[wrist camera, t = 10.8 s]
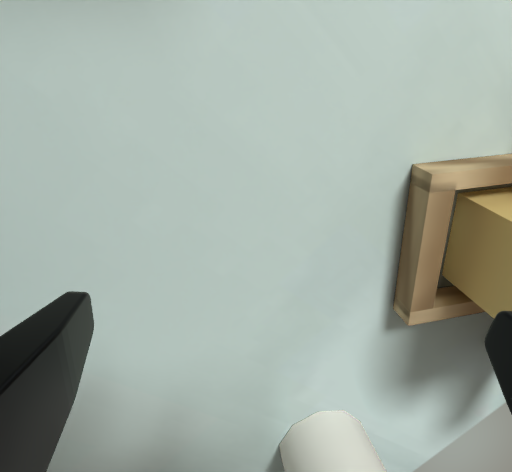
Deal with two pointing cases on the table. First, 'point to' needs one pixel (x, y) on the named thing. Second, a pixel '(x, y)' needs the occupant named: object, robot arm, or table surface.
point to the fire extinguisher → (329, 445)
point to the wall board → (438, 235)
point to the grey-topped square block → (482, 248)
